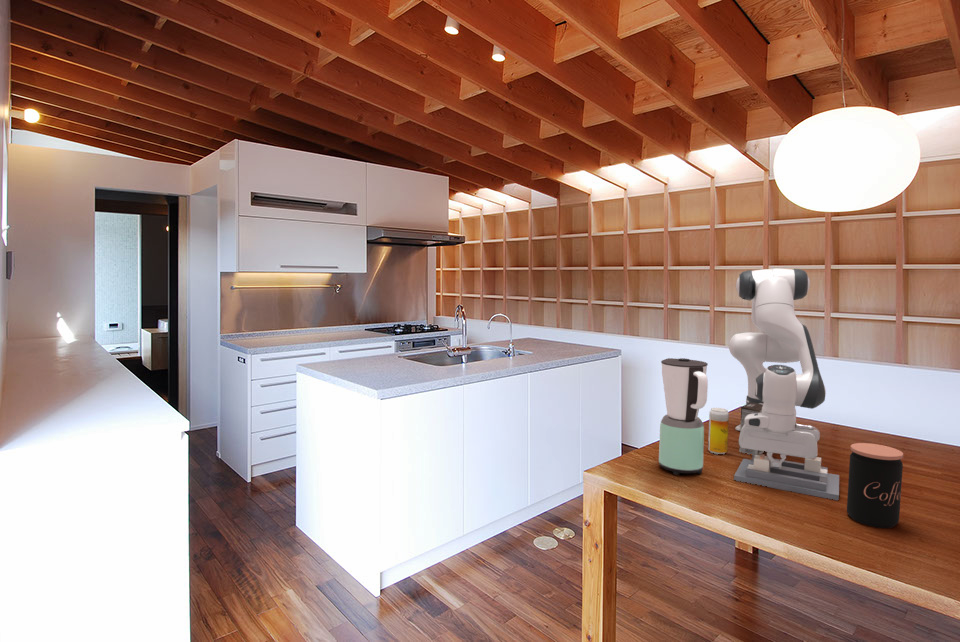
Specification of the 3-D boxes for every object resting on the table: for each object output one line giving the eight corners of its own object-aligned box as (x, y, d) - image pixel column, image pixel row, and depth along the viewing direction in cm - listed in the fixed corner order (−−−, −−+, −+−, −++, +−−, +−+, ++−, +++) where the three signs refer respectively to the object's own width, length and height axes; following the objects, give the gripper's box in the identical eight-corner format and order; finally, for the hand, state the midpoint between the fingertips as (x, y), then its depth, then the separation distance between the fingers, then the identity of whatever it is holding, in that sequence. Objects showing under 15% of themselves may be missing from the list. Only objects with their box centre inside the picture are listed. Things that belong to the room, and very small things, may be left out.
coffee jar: (860, 528, 131) (865, 455, 129) (837, 509, 141) (841, 441, 140) (909, 530, 129) (914, 457, 128) (882, 511, 140) (886, 443, 138)
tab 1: (754, 470, 164) (755, 452, 164) (769, 473, 162) (770, 455, 161) (753, 474, 161) (754, 456, 160) (768, 477, 159) (769, 458, 158)
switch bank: (743, 463, 176) (743, 452, 176) (838, 480, 162) (839, 468, 161) (733, 480, 161) (734, 468, 161) (838, 500, 147) (839, 488, 146)
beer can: (729, 455, 183) (731, 412, 182) (710, 454, 184) (711, 411, 183) (724, 450, 189) (726, 408, 188) (706, 449, 190) (707, 407, 189)
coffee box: (747, 446, 193) (749, 402, 192) (767, 450, 189) (769, 405, 187) (738, 452, 187) (740, 406, 186) (758, 456, 182) (760, 409, 181)
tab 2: (804, 471, 164) (805, 453, 163) (820, 473, 162) (821, 455, 161) (804, 475, 160) (805, 456, 160) (819, 478, 158) (820, 459, 158)
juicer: (647, 462, 177) (650, 356, 174) (683, 459, 180) (687, 354, 177) (681, 483, 158) (685, 365, 155) (721, 480, 161) (726, 363, 158)
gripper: (820, 424, 155) (817, 471, 156) (741, 414, 166) (740, 458, 167) (819, 429, 150) (817, 478, 151) (738, 418, 161) (736, 463, 162)
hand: (775, 467), depth 159 cm, fingers closed
